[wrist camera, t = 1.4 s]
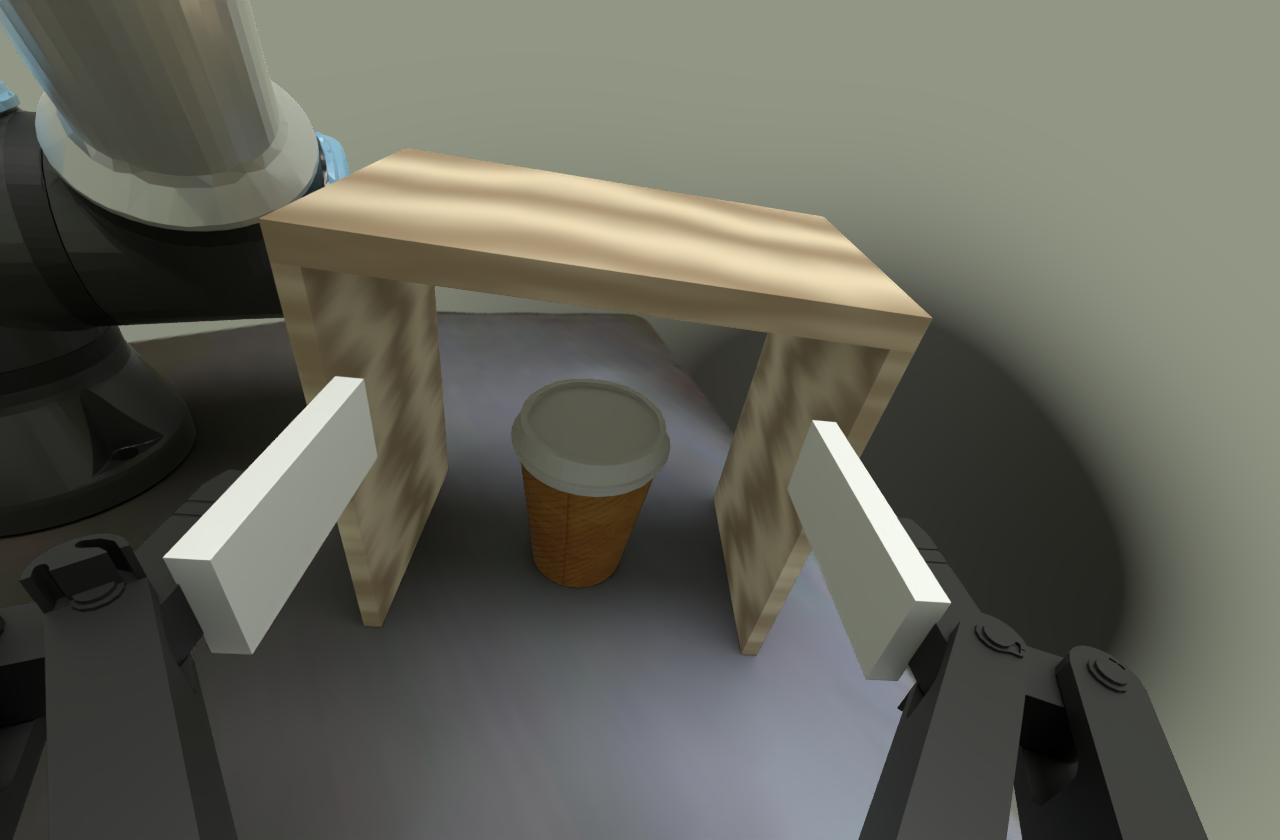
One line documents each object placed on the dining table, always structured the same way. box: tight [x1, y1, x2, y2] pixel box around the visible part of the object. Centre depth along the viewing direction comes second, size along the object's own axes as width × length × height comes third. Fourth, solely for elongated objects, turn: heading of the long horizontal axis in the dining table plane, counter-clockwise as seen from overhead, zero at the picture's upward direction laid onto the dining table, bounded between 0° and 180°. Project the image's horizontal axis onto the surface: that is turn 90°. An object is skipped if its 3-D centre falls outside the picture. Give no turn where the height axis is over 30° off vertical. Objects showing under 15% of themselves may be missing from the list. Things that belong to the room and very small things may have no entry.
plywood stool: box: [259, 148, 932, 655], centre depth 31 cm, size 14×24×24 cm, turn 91°
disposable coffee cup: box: [511, 379, 670, 588], centre depth 34 cm, size 10×10×12 cm
